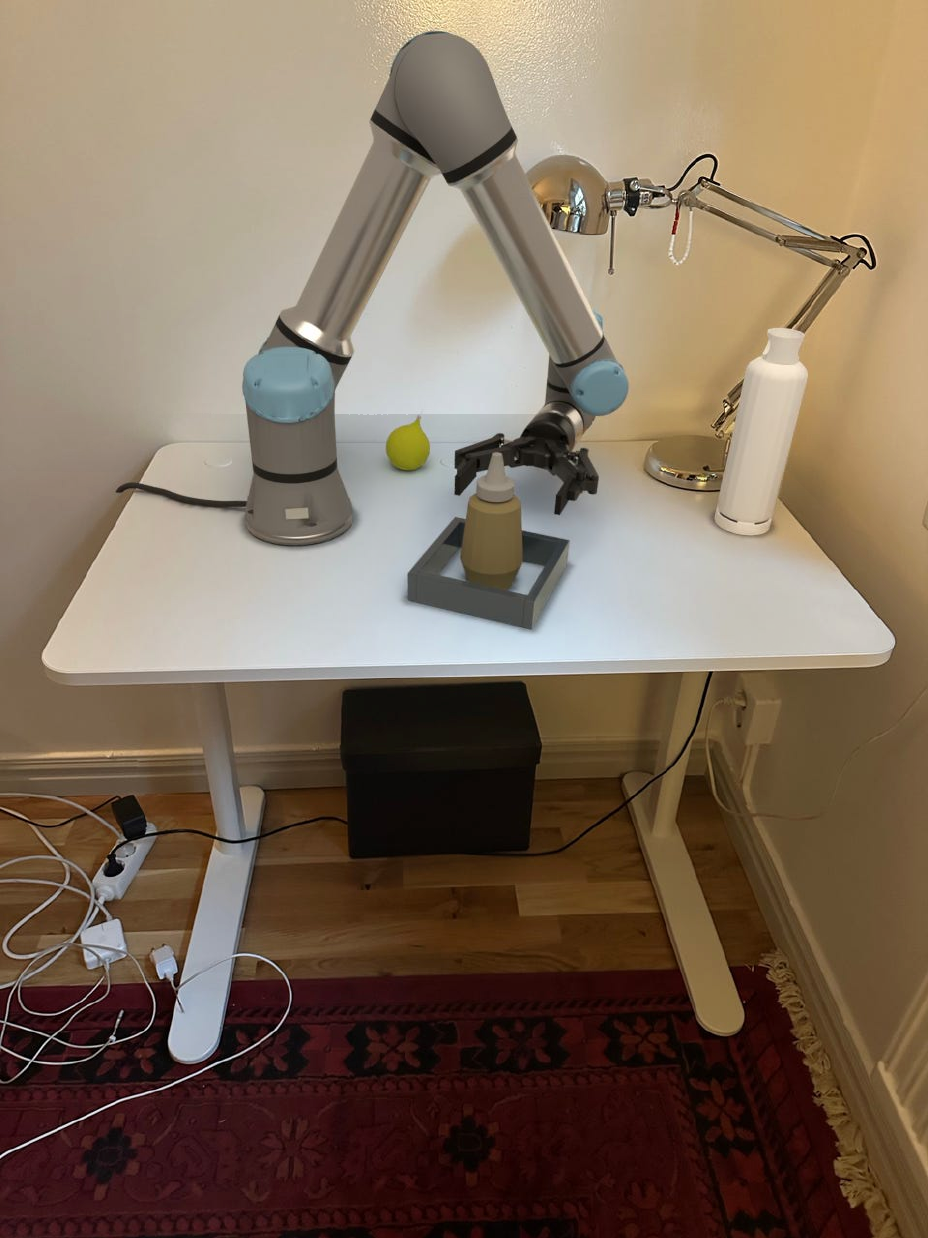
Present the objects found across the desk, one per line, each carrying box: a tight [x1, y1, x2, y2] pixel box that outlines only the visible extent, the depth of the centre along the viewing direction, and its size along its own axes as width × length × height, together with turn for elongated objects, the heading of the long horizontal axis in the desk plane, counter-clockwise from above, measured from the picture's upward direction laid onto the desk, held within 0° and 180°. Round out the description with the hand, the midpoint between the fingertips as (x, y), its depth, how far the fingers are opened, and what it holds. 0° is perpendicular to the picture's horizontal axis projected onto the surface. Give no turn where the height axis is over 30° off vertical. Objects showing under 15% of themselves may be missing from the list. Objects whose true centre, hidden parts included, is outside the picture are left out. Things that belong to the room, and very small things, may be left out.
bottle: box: [713, 327, 809, 536], centre depth 124 cm, size 8×8×28 cm
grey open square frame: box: [406, 516, 571, 630], centre depth 114 cm, size 16×16×4 cm
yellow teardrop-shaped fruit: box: [385, 410, 431, 471], centre depth 141 cm, size 7×7×10 cm
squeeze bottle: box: [459, 452, 523, 590], centre depth 110 cm, size 8×8×18 cm
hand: (506, 495), depth 113 cm, fingers open, 13 cm apart
